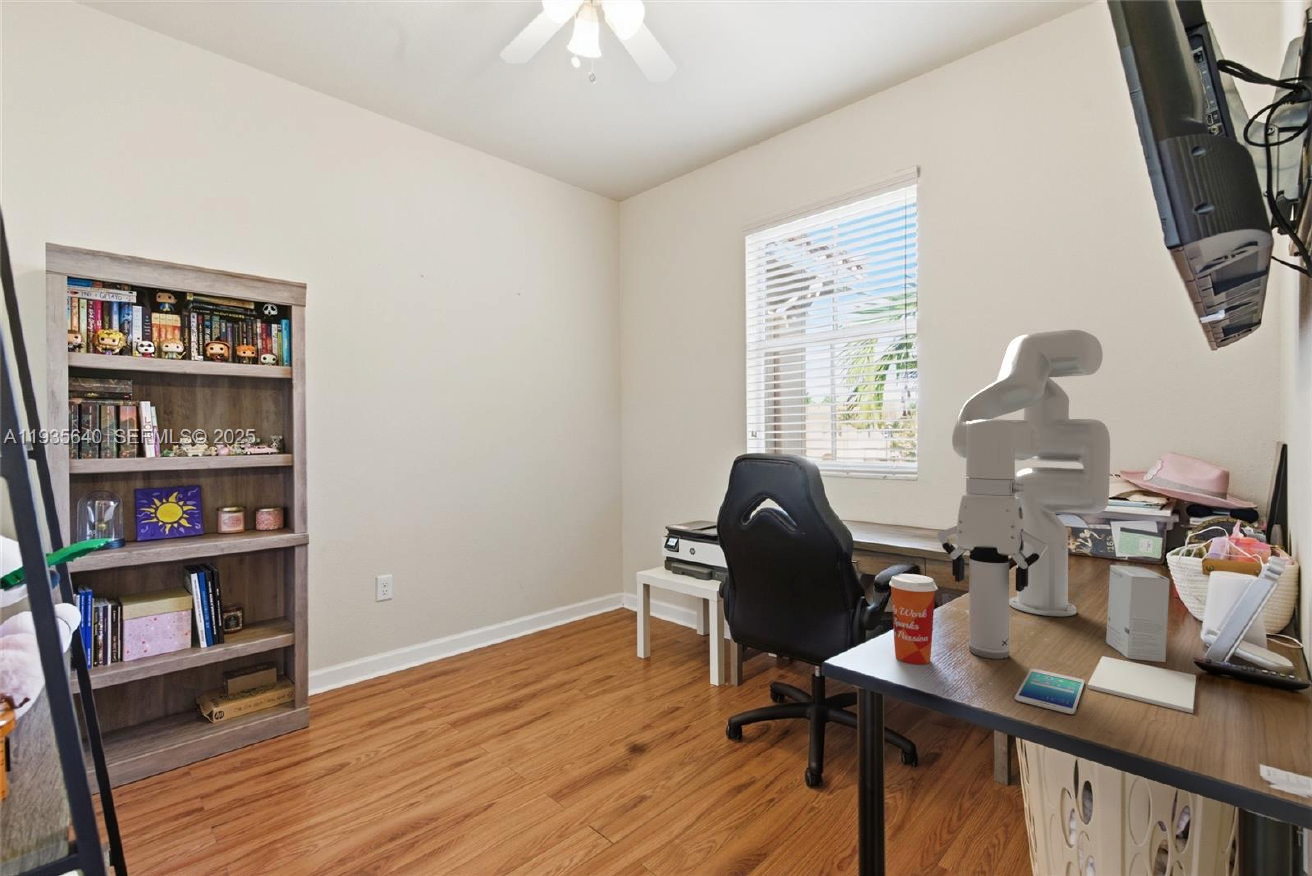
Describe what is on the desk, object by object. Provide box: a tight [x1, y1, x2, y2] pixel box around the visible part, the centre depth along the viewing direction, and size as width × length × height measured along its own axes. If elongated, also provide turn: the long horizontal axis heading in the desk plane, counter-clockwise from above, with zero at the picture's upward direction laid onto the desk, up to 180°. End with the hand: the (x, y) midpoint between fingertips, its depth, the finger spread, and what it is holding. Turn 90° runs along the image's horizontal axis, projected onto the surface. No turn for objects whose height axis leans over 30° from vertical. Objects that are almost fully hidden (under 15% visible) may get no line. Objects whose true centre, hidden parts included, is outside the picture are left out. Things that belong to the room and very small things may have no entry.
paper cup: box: [888, 573, 938, 666], centre depth 103 cm, size 8×8×14 cm
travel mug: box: [968, 547, 1010, 660], centre depth 106 cm, size 6×7×20 cm
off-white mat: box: [1087, 655, 1197, 714], centre depth 93 cm, size 16×12×1 cm
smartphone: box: [1014, 668, 1086, 717], centre depth 90 cm, size 8×1×15 cm
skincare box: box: [1105, 564, 1170, 663], centre depth 106 cm, size 8×6×15 cm
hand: (988, 585), depth 105 cm, fingers open, 9 cm apart
